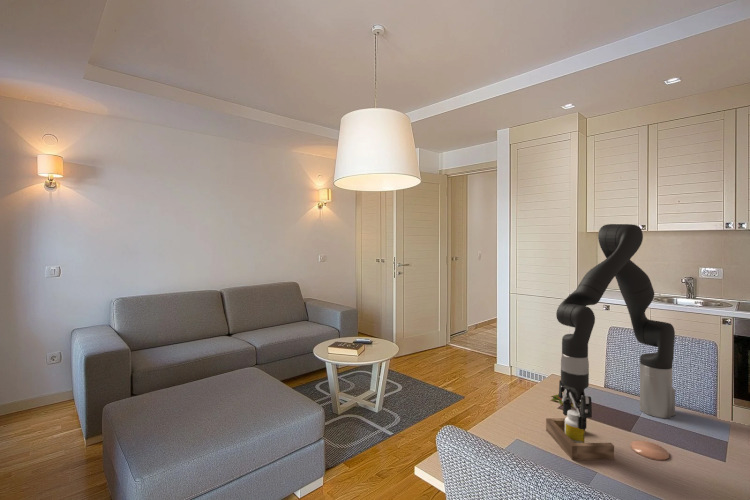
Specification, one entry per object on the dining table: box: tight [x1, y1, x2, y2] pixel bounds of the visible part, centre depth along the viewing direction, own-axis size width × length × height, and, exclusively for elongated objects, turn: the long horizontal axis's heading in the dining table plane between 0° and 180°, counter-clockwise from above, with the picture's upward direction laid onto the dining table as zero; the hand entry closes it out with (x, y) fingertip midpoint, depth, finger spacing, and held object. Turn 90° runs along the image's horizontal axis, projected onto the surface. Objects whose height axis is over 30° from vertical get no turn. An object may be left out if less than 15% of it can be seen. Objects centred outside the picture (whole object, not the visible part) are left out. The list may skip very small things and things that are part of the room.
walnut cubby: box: [545, 417, 615, 461], centre depth 112 cm, size 12×16×4 cm
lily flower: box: [550, 392, 574, 408], centre depth 141 cm, size 12×12×5 cm
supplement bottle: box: [564, 409, 585, 443], centre depth 111 cm, size 5×5×10 cm
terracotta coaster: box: [630, 440, 670, 461], centre depth 107 cm, size 9×9×1 cm
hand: (574, 421), depth 111 cm, fingers open, 8 cm apart
